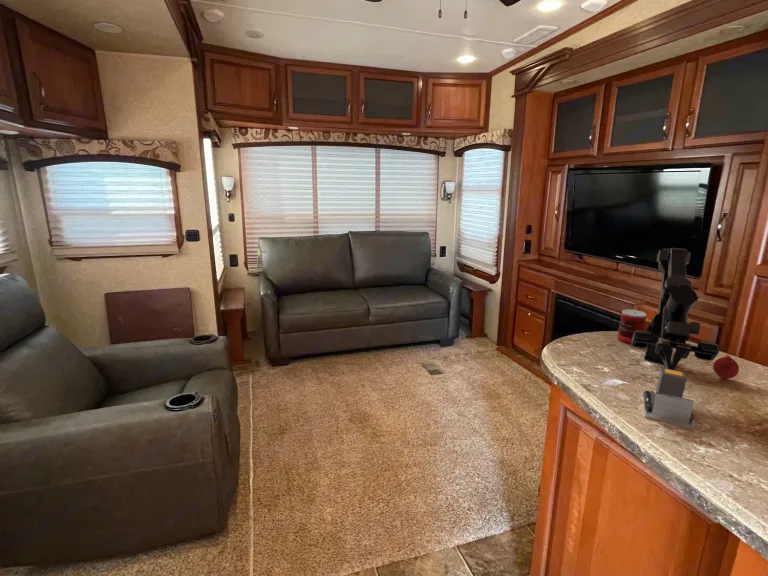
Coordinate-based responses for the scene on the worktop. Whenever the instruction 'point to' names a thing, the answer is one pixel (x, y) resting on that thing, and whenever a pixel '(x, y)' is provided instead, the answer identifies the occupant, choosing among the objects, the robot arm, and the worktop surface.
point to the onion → (726, 367)
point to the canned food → (630, 324)
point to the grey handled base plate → (669, 409)
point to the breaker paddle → (671, 382)
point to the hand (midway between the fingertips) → (670, 373)
